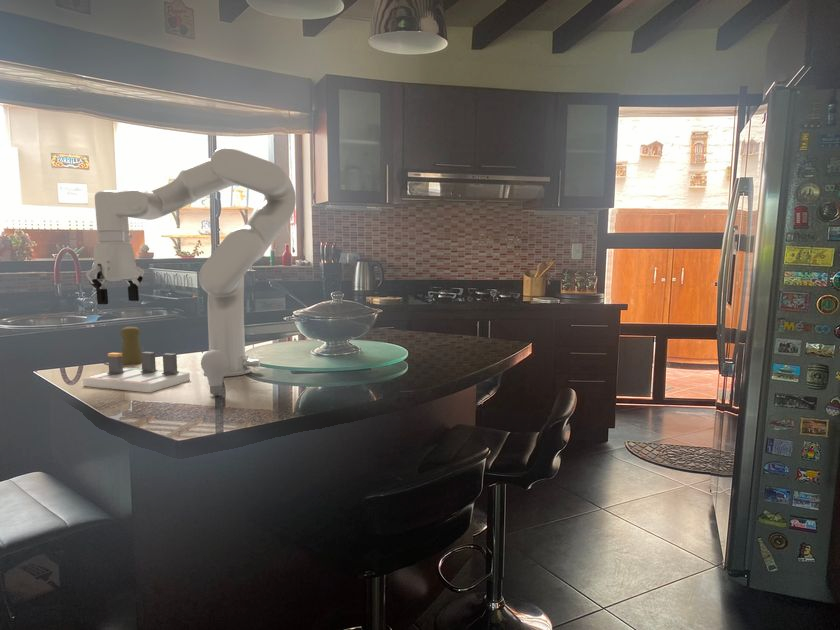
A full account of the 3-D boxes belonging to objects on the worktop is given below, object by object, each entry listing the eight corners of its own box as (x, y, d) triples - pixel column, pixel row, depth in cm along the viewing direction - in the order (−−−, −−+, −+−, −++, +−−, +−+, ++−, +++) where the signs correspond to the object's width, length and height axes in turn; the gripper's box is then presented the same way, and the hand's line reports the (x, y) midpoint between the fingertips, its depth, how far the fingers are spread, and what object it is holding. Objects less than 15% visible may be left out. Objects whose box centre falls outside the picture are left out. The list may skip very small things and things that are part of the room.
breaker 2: (170, 371, 155) (169, 352, 155) (179, 372, 154) (178, 353, 154) (161, 374, 152) (160, 354, 152) (170, 374, 151) (169, 355, 151)
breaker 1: (149, 370, 158) (148, 351, 157) (158, 370, 157) (157, 351, 156) (139, 372, 155) (138, 353, 154) (148, 373, 154) (147, 353, 153)
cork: (147, 361, 182) (145, 325, 181) (135, 364, 176) (133, 328, 175) (128, 360, 182) (126, 325, 181) (116, 364, 176) (114, 328, 175)
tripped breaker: (116, 371, 156) (115, 352, 155) (125, 371, 155) (124, 352, 154) (106, 373, 153) (105, 354, 152) (115, 374, 152) (114, 354, 151)
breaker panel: (127, 374, 162) (126, 367, 162) (189, 380, 155) (189, 372, 155) (83, 385, 149) (82, 377, 149) (149, 392, 142) (149, 384, 142)
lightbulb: (214, 400, 135) (212, 352, 133) (196, 396, 138) (194, 350, 137) (235, 394, 140) (233, 349, 139) (218, 391, 143) (216, 346, 142)
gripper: (130, 238, 166) (135, 299, 168) (74, 238, 150) (79, 305, 152) (150, 238, 163) (154, 299, 165) (94, 237, 147) (100, 305, 149)
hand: (118, 302), depth 159 cm, fingers open, 9 cm apart
